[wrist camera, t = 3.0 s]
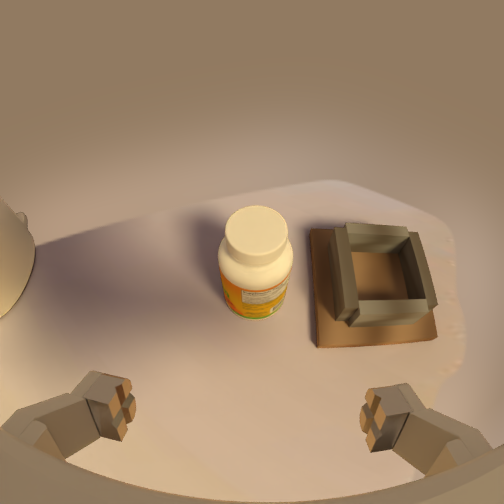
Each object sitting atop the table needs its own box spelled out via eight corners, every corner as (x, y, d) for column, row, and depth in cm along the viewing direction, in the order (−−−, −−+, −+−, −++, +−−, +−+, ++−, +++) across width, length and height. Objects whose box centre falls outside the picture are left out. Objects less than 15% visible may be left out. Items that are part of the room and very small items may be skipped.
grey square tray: (317, 348, 24) (328, 334, 20) (309, 234, 30) (316, 208, 27) (432, 340, 23) (454, 325, 20) (409, 239, 30) (423, 217, 27)
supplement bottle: (223, 270, 28) (212, 199, 20) (279, 266, 28) (291, 195, 20) (226, 324, 25) (213, 268, 17) (287, 319, 25) (306, 261, 17)
